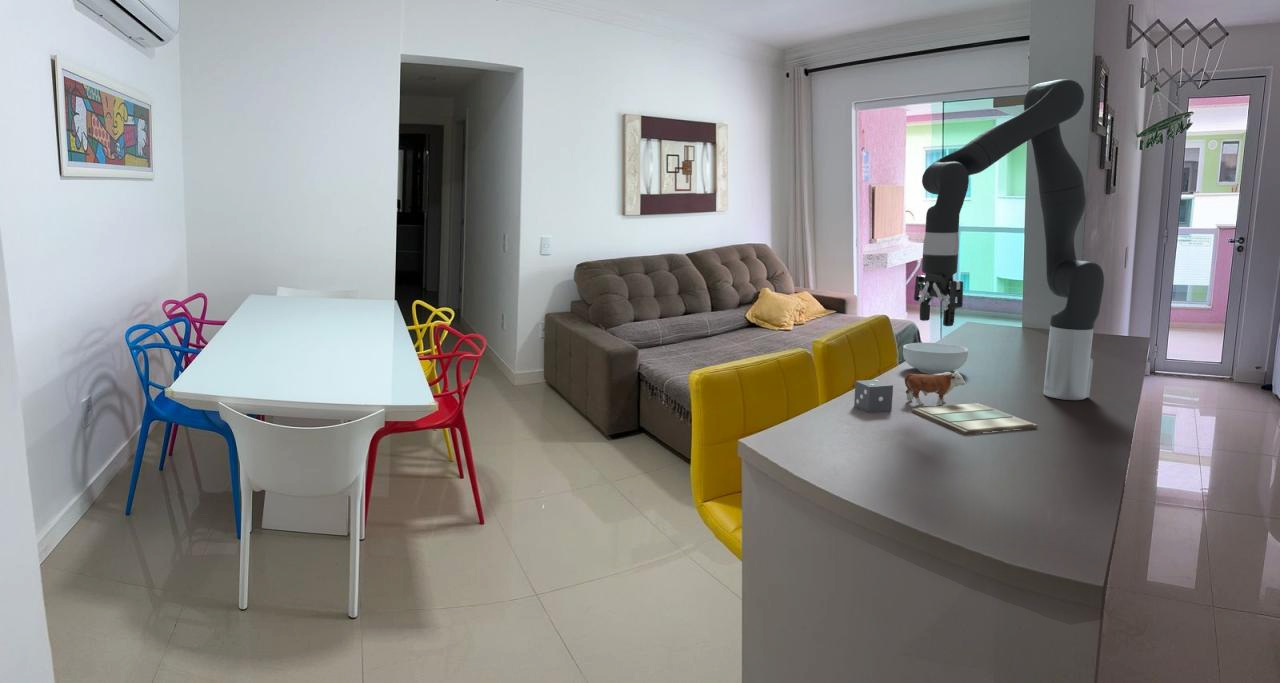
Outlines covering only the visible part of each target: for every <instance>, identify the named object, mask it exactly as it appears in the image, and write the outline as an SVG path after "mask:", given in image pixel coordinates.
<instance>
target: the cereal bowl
mask: <svg viewBox="0 0 1280 683" xmlns="http://www.w3.org/2000/svg"><path fill="white" fill-rule="evenodd" d="M902 355H903V358H904V361H905V362H906V364H908V366H910V367H912V368H914V369H917V370H918V371H919V372H920V373H921V374H927V375H933V374H941V373H945V372H950V373H951V372H952V371H955V370H959V369H961V368H962V367H963V366H964V365H965V364H966V362H967V360H968V356H969V350H968V348H967V347H965V346H961V345H956V344H952V343H950V344H949V343H944V342H943V343H942V342H941V343H940V342H912V343H906V344H904V345H903V346H902Z"/></svg>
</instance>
